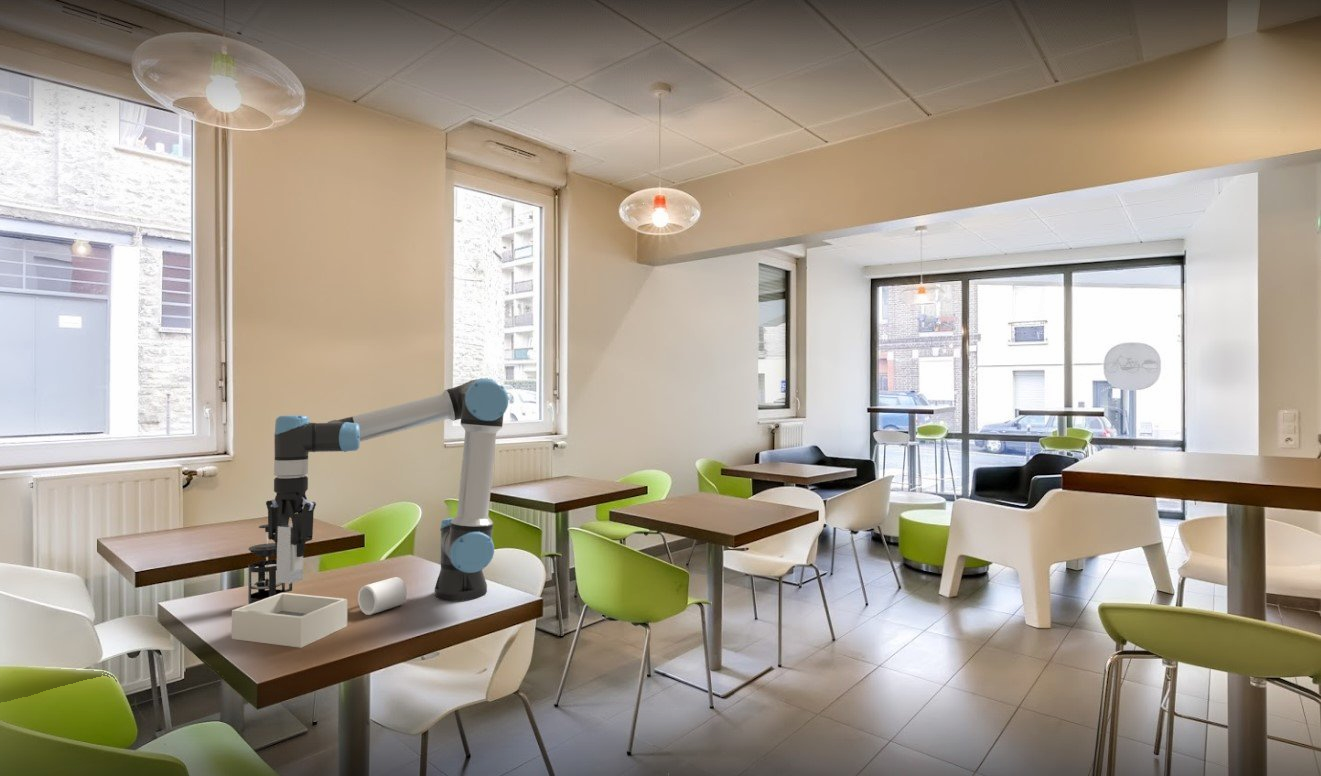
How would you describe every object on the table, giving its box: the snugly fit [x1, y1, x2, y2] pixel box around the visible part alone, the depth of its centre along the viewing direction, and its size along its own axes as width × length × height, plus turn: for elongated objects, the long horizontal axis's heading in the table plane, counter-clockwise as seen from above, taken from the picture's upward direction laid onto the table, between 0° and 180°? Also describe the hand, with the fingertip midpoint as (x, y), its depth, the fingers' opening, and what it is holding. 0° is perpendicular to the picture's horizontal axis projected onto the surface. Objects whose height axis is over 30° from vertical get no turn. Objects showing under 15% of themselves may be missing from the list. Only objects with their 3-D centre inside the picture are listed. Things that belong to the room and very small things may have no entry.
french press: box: [247, 523, 293, 605], centre depth 187 cm, size 12×9×23 cm
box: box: [231, 592, 348, 649], centre depth 165 cm, size 21×15×7 cm
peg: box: [276, 523, 304, 585], centre depth 165 cm, size 4×4×14 cm
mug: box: [357, 576, 408, 616], centre depth 184 cm, size 12×10×8 cm
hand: (289, 568), depth 165 cm, fingers closed on peg, 4 cm apart
